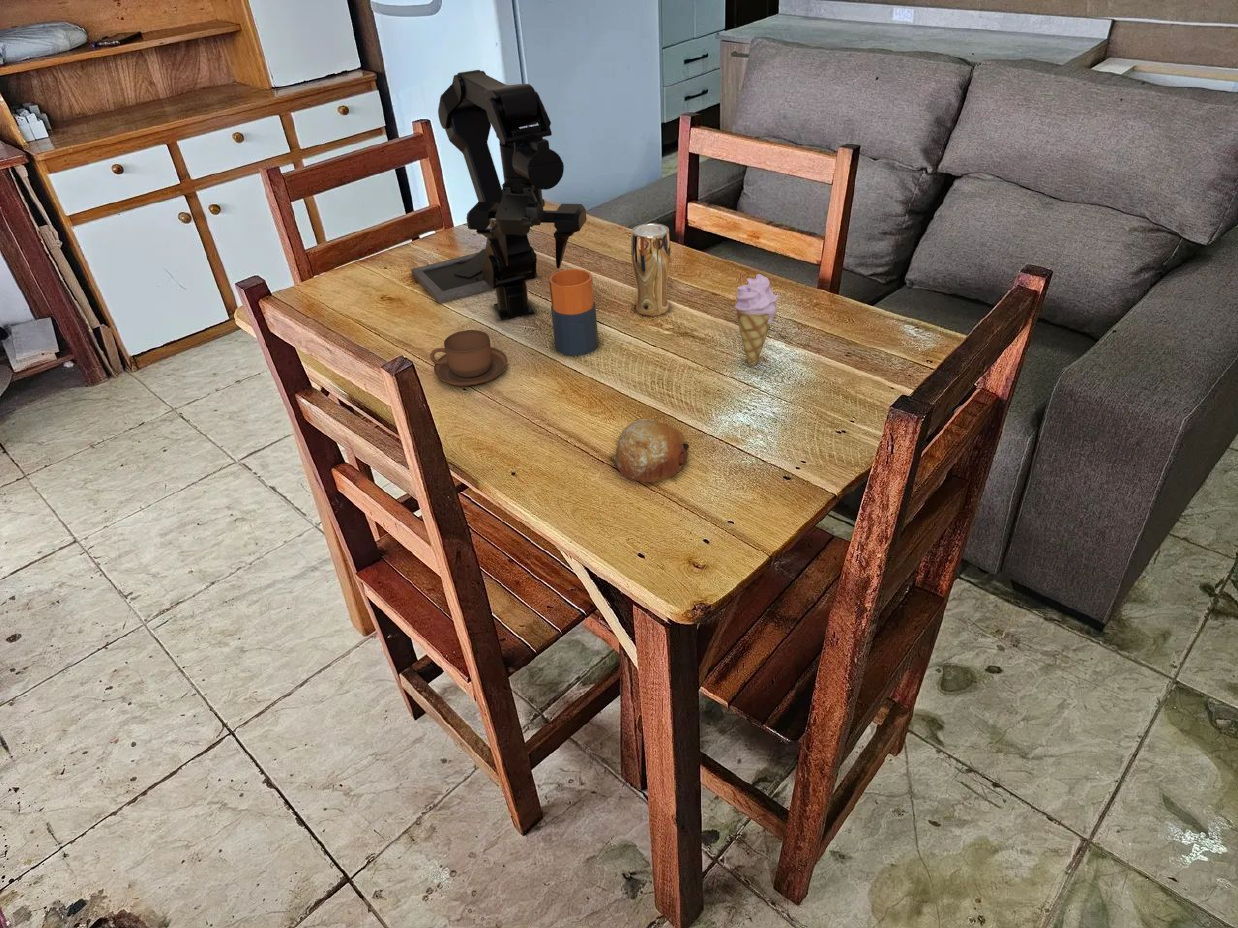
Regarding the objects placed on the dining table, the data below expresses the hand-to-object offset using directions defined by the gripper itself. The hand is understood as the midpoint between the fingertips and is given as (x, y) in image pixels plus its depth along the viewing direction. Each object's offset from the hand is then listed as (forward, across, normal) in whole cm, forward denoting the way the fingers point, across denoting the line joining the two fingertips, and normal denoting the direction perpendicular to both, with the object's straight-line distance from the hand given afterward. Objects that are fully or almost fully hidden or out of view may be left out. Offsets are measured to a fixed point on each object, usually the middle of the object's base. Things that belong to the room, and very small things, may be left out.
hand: (532, 266), depth 139 cm
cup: (+6, +7, -3) cm, 10 cm away
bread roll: (+13, +26, -35) cm, 45 cm away
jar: (+13, +7, -3) cm, 15 cm away
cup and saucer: (+13, -8, -14) cm, 21 cm away
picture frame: (+13, -21, +24) cm, 34 cm away
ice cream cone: (+13, +38, -6) cm, 41 cm away
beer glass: (+13, +18, +13) cm, 26 cm away
